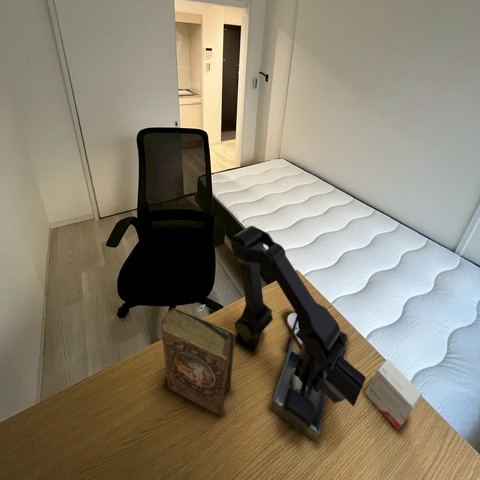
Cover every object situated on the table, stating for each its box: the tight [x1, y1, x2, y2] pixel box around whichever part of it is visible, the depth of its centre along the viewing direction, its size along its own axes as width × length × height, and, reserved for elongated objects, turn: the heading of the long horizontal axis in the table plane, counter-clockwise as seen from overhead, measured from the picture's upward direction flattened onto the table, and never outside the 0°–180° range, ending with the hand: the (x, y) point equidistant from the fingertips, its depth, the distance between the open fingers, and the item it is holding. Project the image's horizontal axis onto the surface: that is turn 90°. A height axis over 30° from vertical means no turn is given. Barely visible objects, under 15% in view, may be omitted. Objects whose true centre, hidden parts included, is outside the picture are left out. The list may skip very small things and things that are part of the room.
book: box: [160, 306, 236, 416], centre depth 58 cm, size 16×6×25 cm, turn 71°
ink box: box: [365, 358, 423, 431], centre depth 61 cm, size 9×5×12 cm, turn 33°
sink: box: [270, 346, 327, 442], centre depth 63 cm, size 11×13×4 cm
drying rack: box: [284, 315, 348, 359], centre depth 74 cm, size 16×14×4 cm
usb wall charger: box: [292, 368, 308, 397], centre depth 63 cm, size 4×7×4 cm, turn 174°
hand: (300, 390), depth 64 cm, fingers open, 8 cm apart
